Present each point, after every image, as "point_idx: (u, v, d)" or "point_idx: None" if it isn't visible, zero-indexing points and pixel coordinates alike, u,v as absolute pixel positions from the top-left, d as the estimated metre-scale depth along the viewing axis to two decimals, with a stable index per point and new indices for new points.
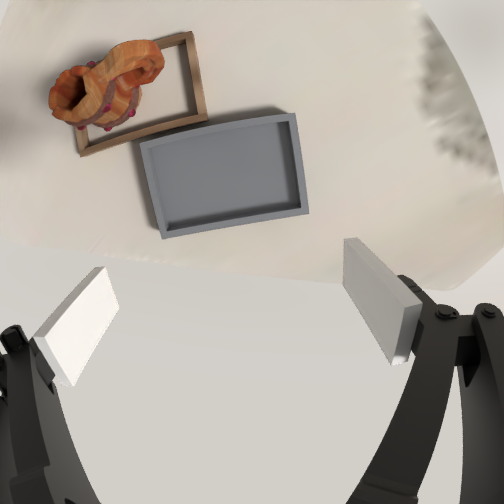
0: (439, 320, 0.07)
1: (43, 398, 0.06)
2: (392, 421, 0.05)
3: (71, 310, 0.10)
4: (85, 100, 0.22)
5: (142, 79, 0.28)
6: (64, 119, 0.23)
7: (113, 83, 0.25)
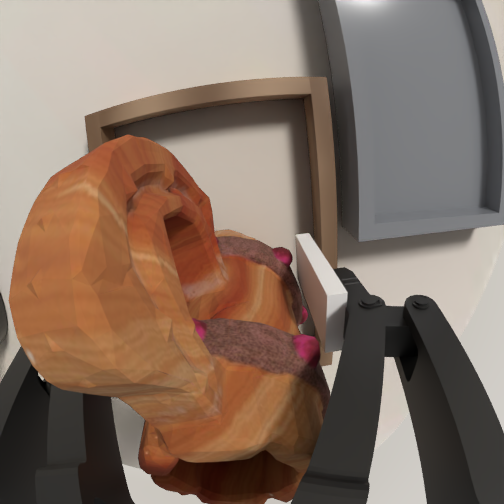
0: (363, 310, 0.09)
1: None
2: (327, 413, 0.05)
3: None
4: (292, 456, 0.06)
5: (203, 223, 0.11)
6: None
7: (216, 330, 0.09)
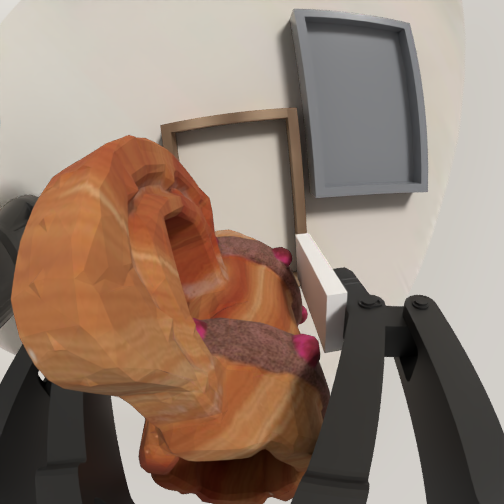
0: (363, 310, 0.09)
1: None
2: (326, 413, 0.05)
3: None
4: (292, 455, 0.06)
5: (203, 223, 0.11)
6: None
7: (217, 330, 0.09)
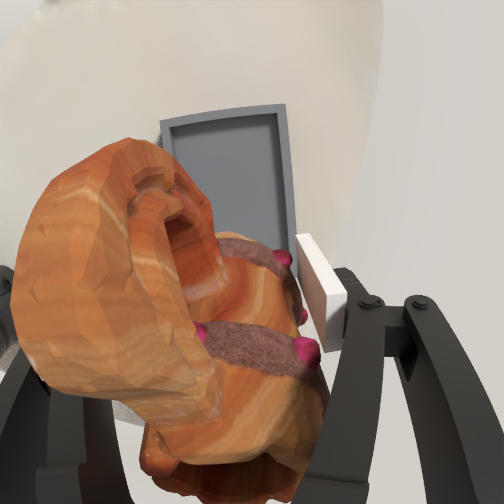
0: (363, 310, 0.09)
1: None
2: (326, 413, 0.05)
3: None
4: (293, 458, 0.06)
5: (204, 225, 0.11)
6: None
7: (217, 333, 0.09)
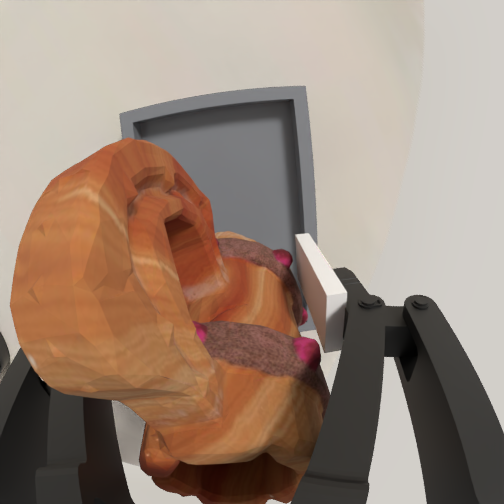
0: (363, 310, 0.09)
1: None
2: (326, 413, 0.05)
3: None
4: (293, 458, 0.06)
5: (204, 225, 0.11)
6: None
7: (217, 333, 0.09)
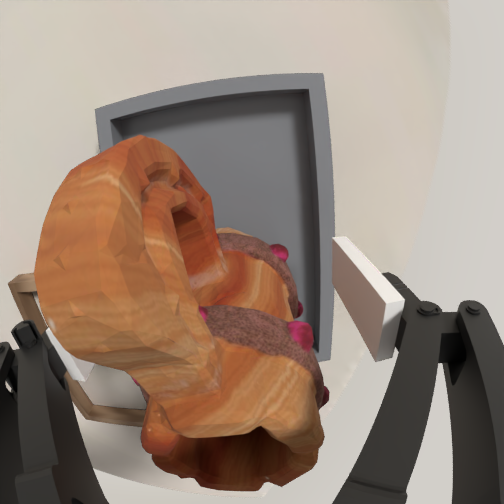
0: (421, 317, 0.08)
1: (54, 394, 0.07)
2: (377, 418, 0.05)
3: None
4: (287, 432, 0.07)
5: (205, 219, 0.12)
6: None
7: (217, 315, 0.09)
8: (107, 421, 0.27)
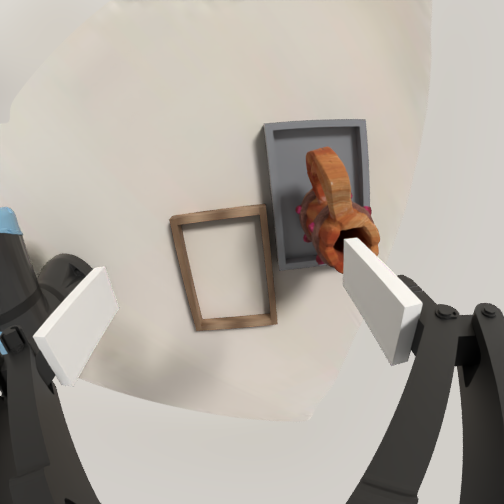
0: (439, 320, 0.07)
1: (43, 398, 0.06)
2: (392, 421, 0.05)
3: (71, 310, 0.10)
4: (371, 227, 0.27)
5: None
6: (377, 254, 0.28)
7: None
8: (216, 327, 0.48)
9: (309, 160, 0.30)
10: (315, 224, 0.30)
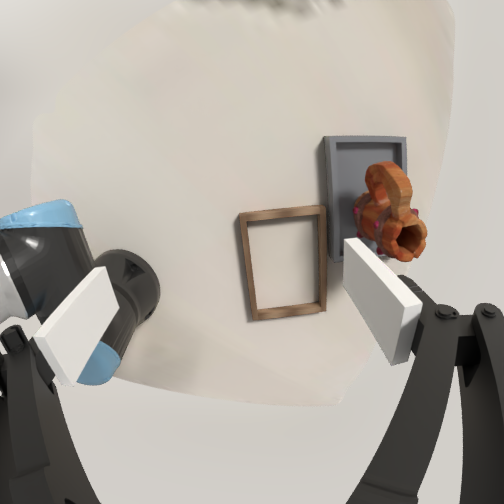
0: (439, 320, 0.07)
1: (43, 398, 0.06)
2: (392, 421, 0.05)
3: (71, 310, 0.10)
4: (422, 225, 0.32)
5: None
6: None
7: None
8: (272, 316, 0.52)
9: (373, 170, 0.36)
10: (379, 222, 0.35)
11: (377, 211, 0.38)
